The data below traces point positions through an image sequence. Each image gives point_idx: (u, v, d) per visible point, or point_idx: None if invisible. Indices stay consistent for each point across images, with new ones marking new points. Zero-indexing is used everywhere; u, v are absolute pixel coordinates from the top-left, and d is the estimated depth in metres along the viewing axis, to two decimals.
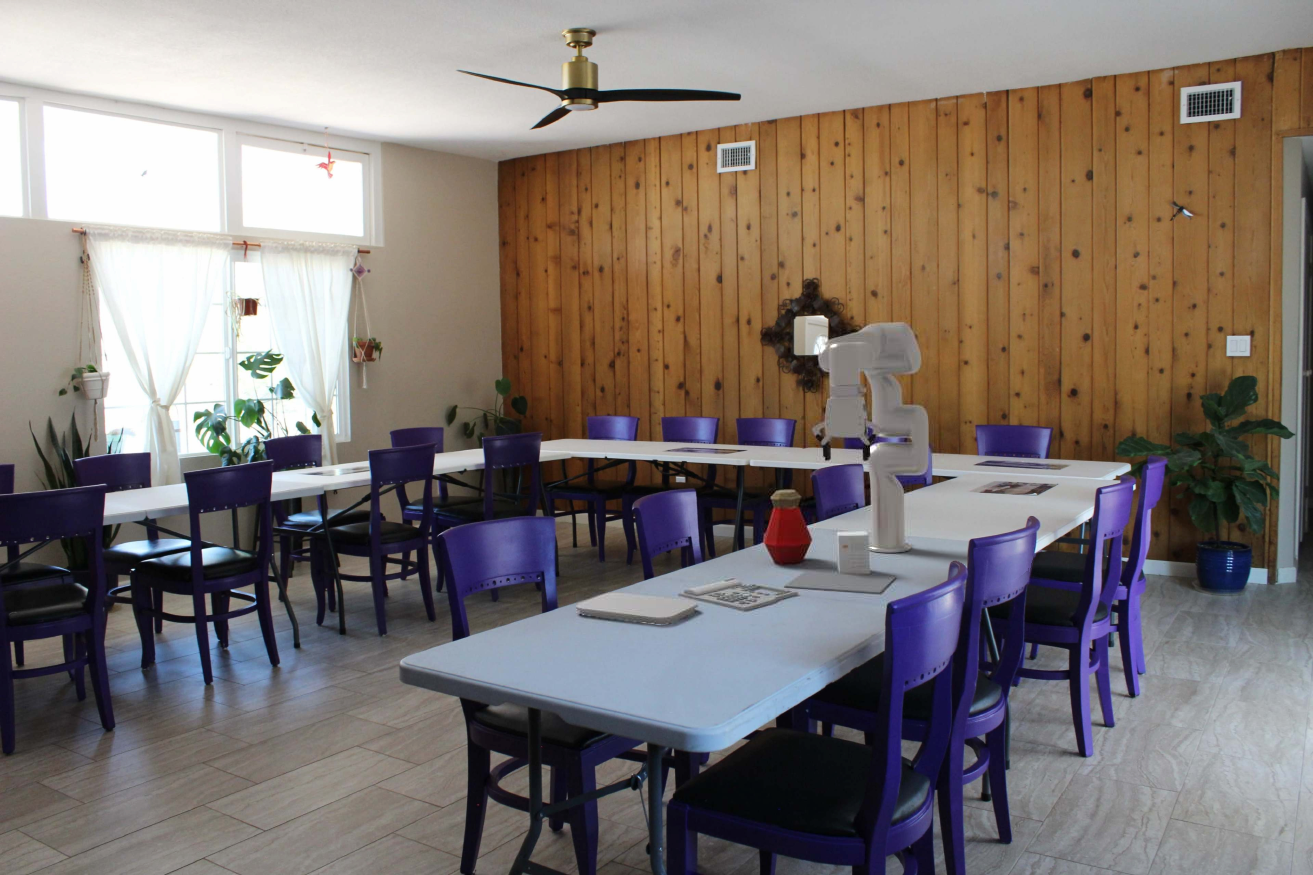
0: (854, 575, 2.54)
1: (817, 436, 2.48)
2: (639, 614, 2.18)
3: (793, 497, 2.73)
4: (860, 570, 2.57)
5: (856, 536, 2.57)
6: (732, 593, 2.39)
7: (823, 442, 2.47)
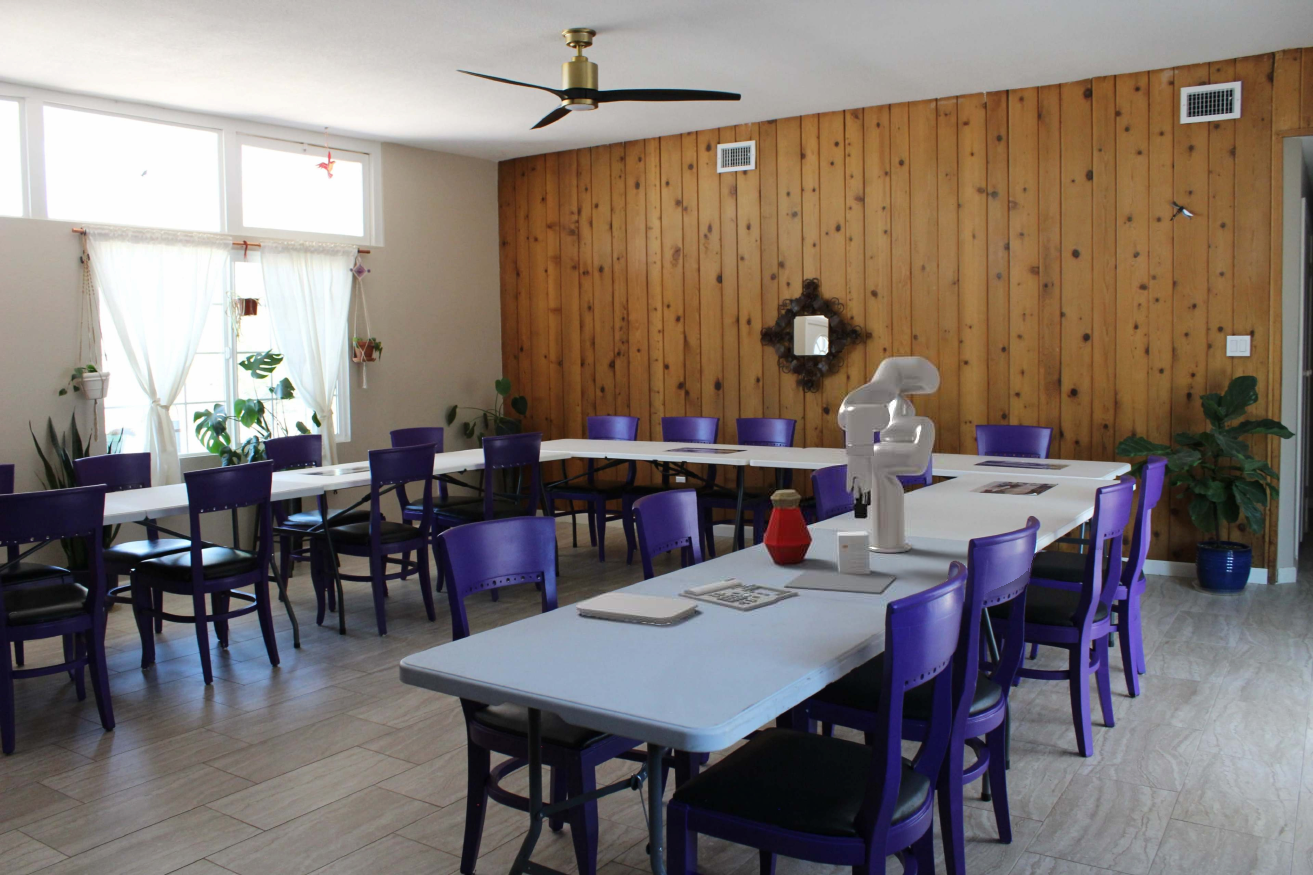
0: (854, 575, 2.54)
1: (861, 497, 2.65)
2: (639, 614, 2.18)
3: (793, 497, 2.73)
4: (860, 570, 2.57)
5: (856, 536, 2.57)
6: (732, 593, 2.39)
7: (864, 501, 2.66)
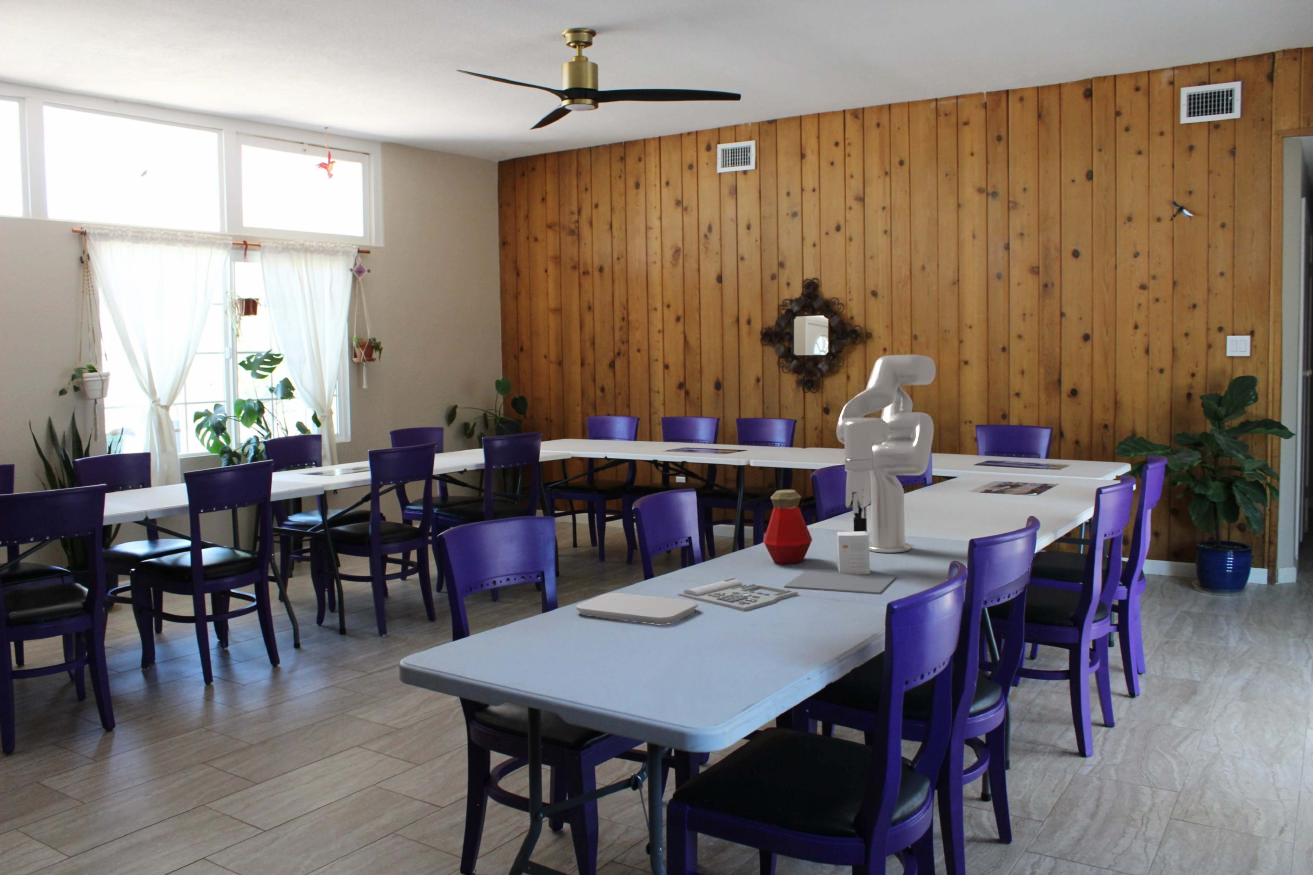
0: (854, 575, 2.54)
1: (860, 511, 2.64)
2: (639, 614, 2.18)
3: (793, 497, 2.73)
4: (860, 570, 2.57)
5: (856, 536, 2.57)
6: (732, 593, 2.39)
7: (863, 516, 2.65)
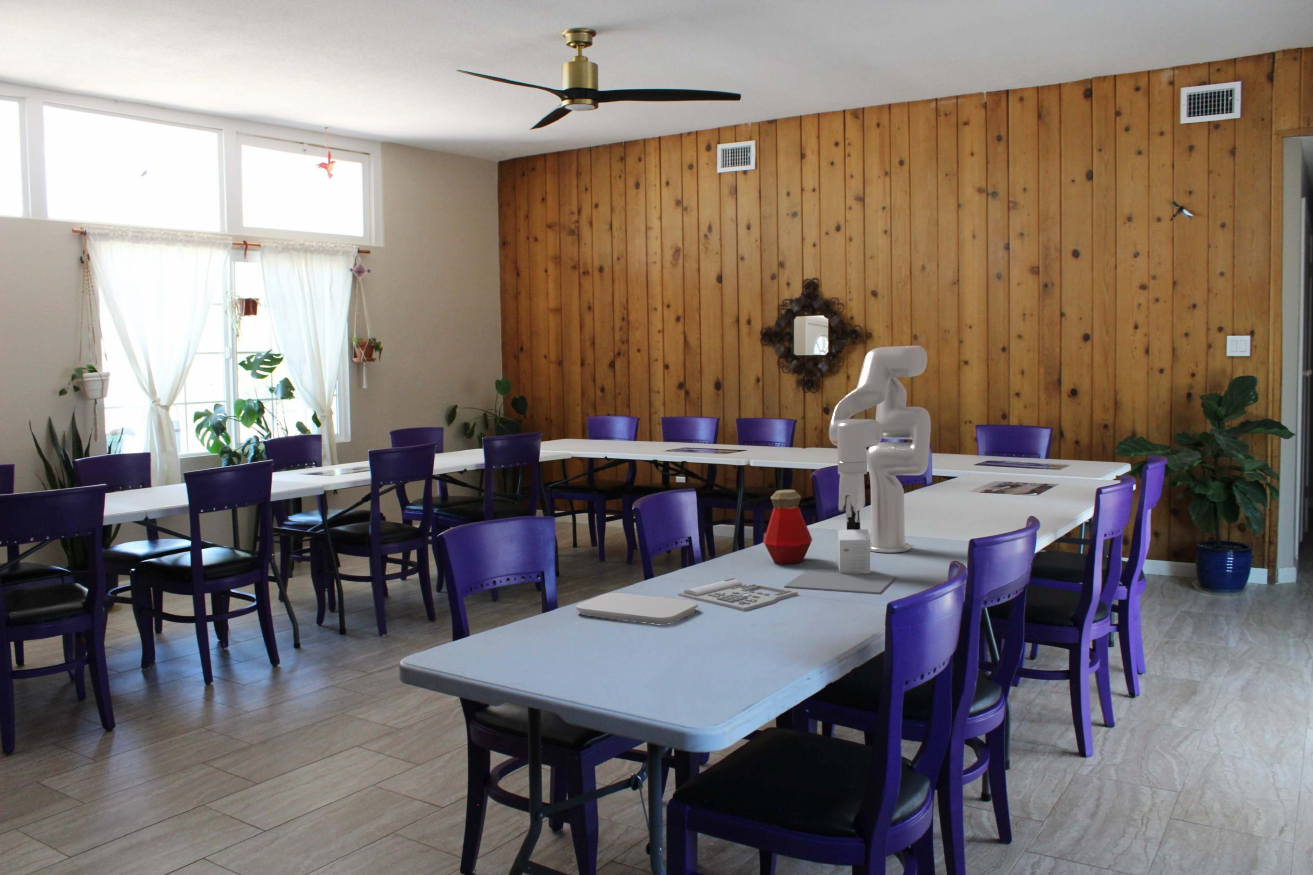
0: (854, 575, 2.54)
1: (854, 515, 2.57)
2: (640, 614, 2.18)
3: (793, 497, 2.73)
4: (860, 570, 2.57)
5: (858, 540, 2.54)
6: (732, 593, 2.39)
7: (856, 520, 2.59)
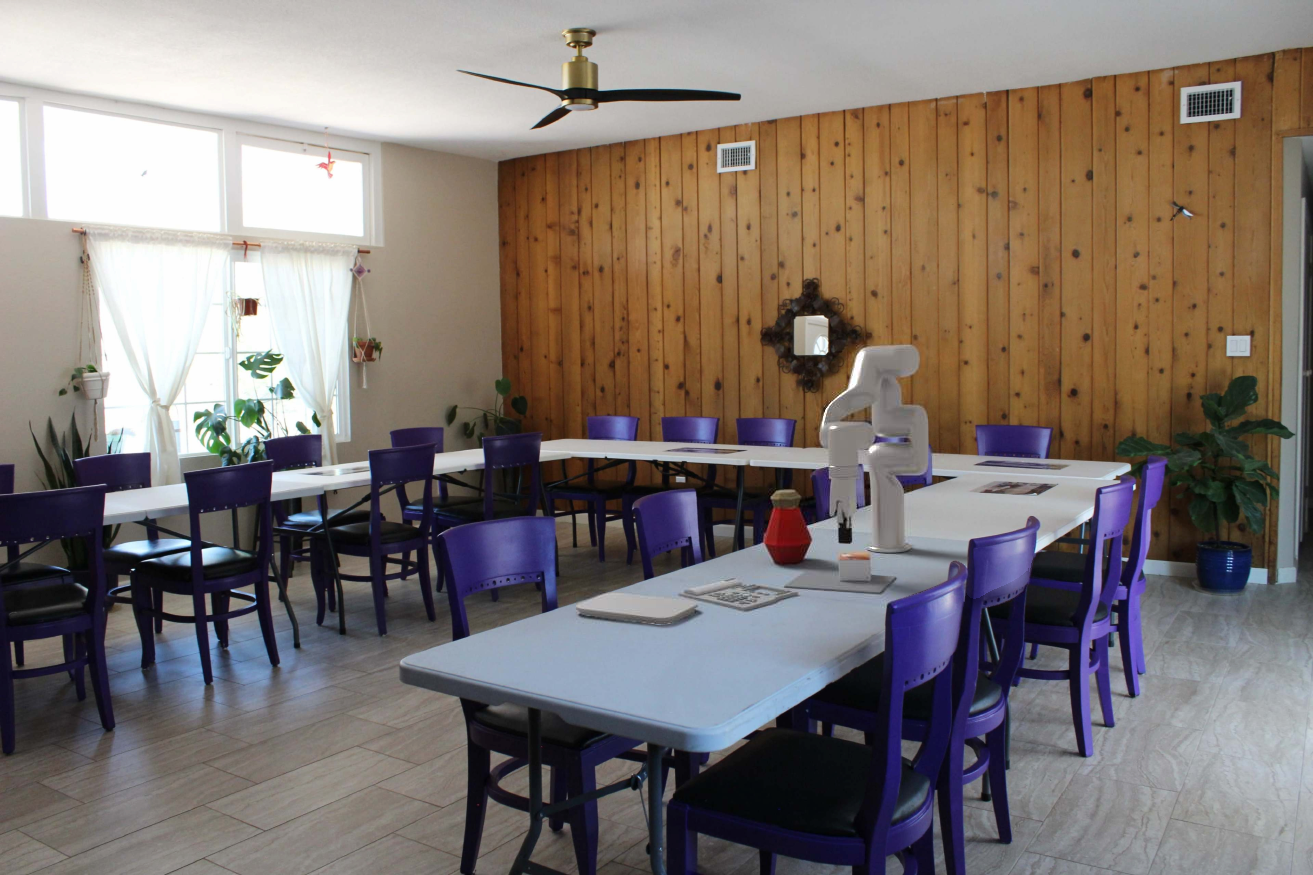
0: None
1: (845, 521, 2.50)
2: (640, 614, 2.17)
3: (793, 497, 2.73)
4: None
5: (858, 580, 2.48)
6: (732, 593, 2.39)
7: (848, 526, 2.51)
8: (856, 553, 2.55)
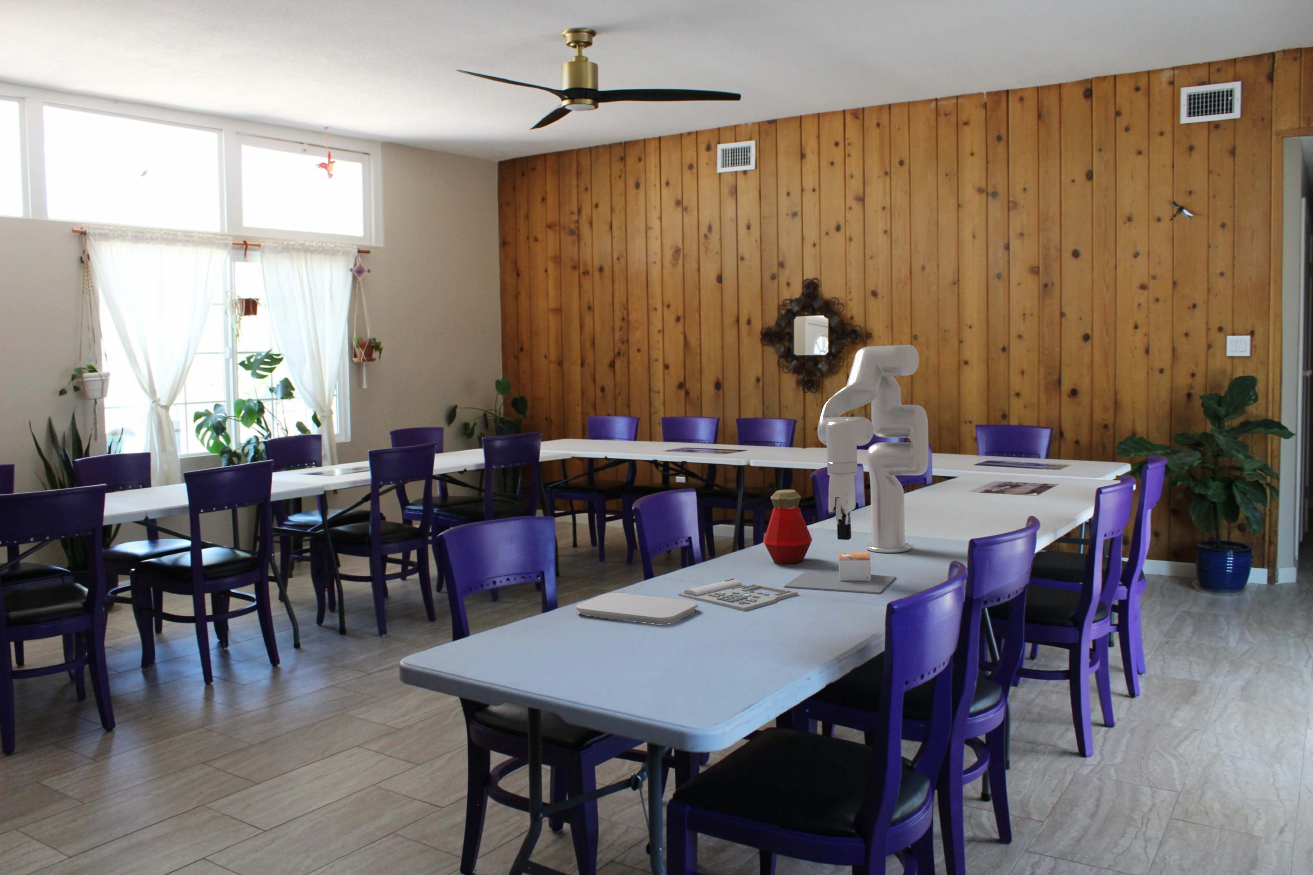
0: None
1: (844, 517, 2.49)
2: (640, 614, 2.17)
3: (793, 497, 2.73)
4: None
5: (858, 580, 2.48)
6: (732, 593, 2.39)
7: (847, 522, 2.50)
8: (856, 553, 2.55)
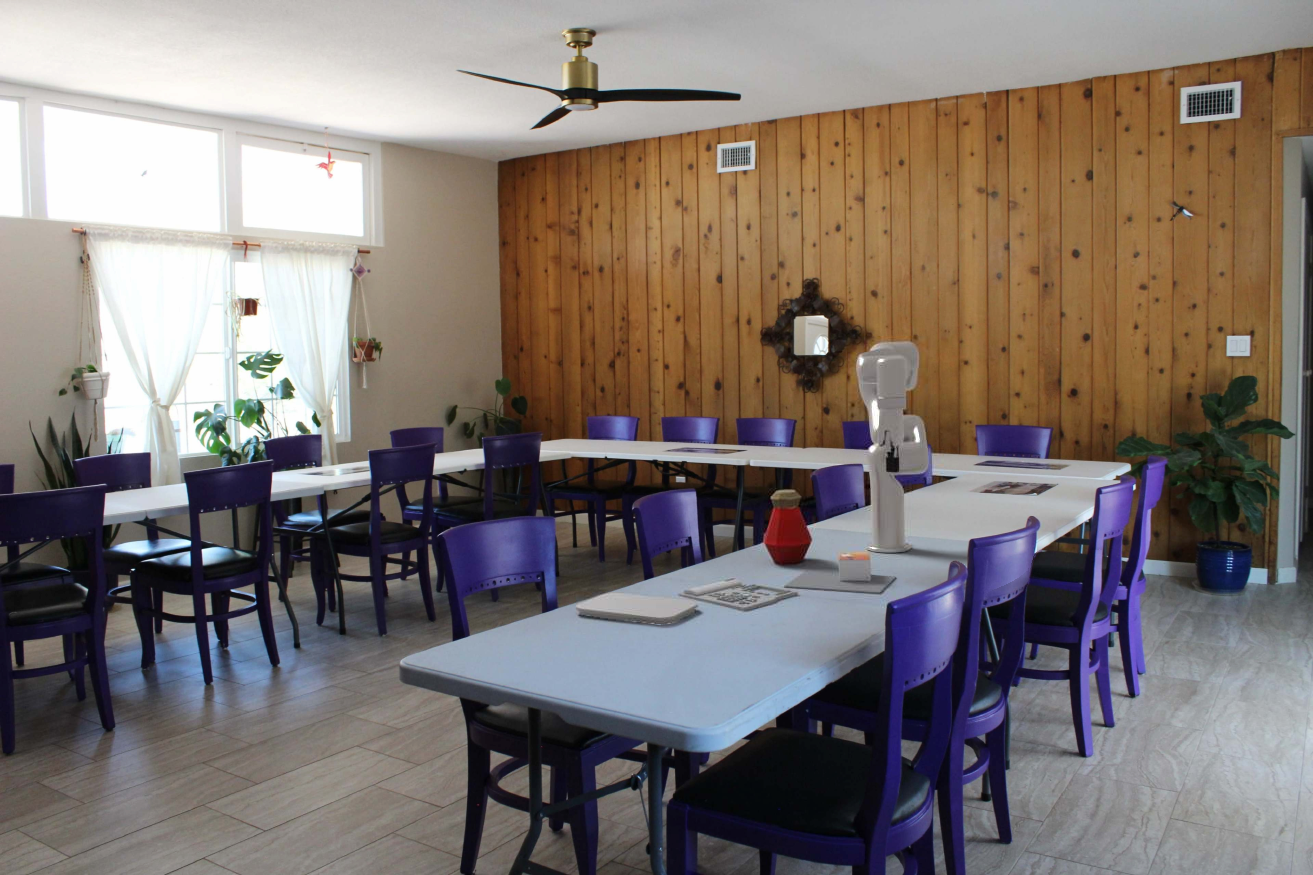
0: None
1: (893, 450, 2.60)
2: (640, 614, 2.17)
3: (793, 497, 2.73)
4: None
5: (858, 580, 2.48)
6: (732, 593, 2.39)
7: (896, 455, 2.61)
8: (856, 553, 2.55)
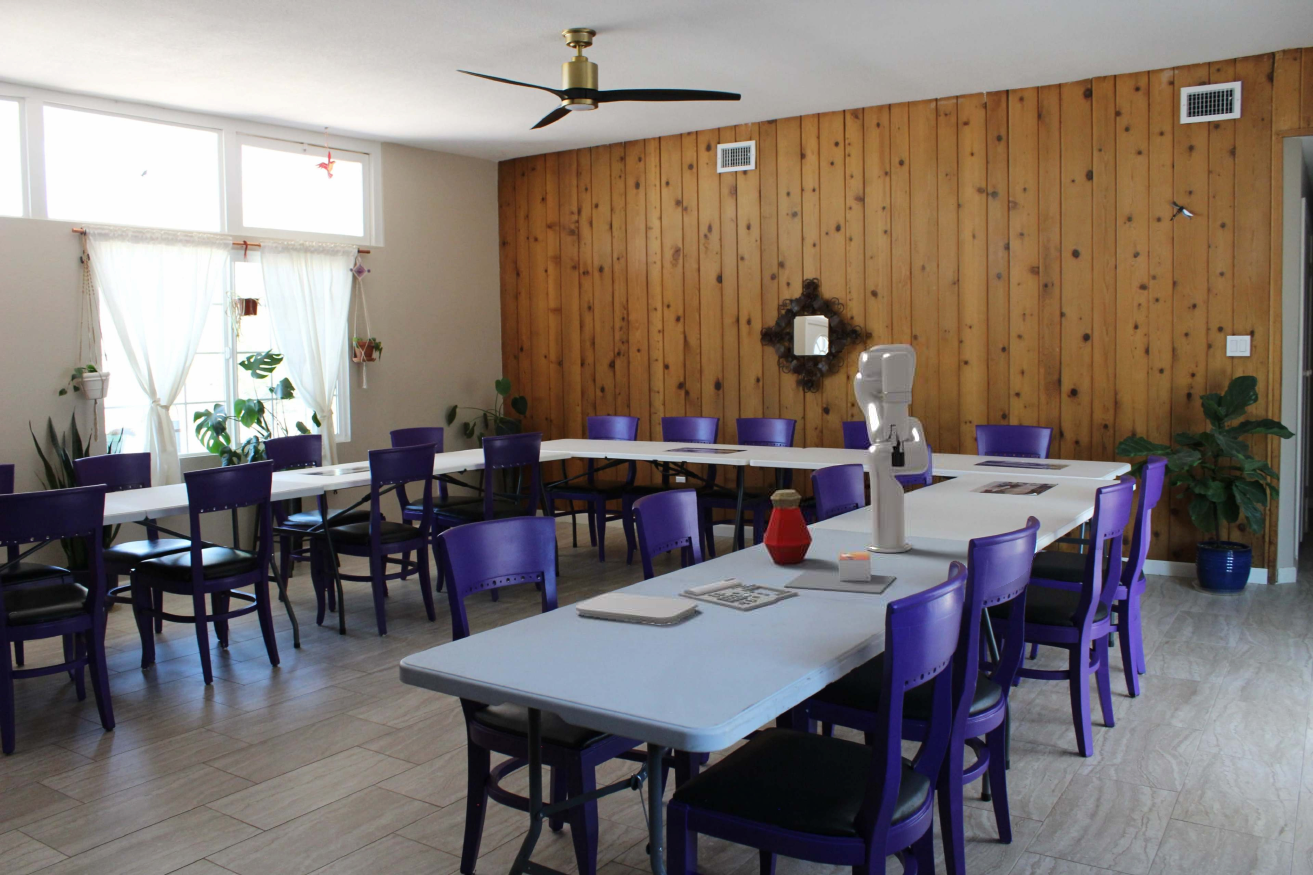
0: None
1: (899, 445, 2.61)
2: (640, 614, 2.17)
3: (793, 497, 2.73)
4: None
5: (858, 580, 2.48)
6: (732, 593, 2.39)
7: (901, 450, 2.62)
8: (856, 553, 2.55)
